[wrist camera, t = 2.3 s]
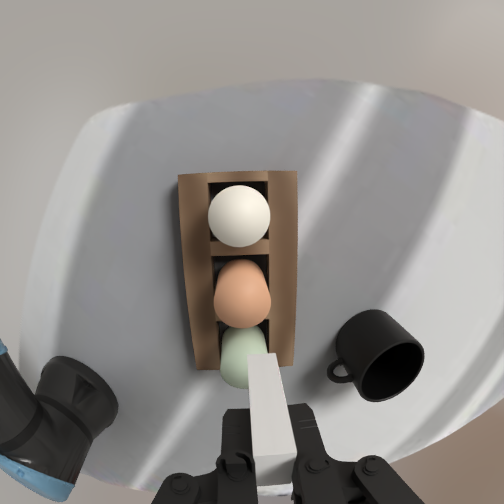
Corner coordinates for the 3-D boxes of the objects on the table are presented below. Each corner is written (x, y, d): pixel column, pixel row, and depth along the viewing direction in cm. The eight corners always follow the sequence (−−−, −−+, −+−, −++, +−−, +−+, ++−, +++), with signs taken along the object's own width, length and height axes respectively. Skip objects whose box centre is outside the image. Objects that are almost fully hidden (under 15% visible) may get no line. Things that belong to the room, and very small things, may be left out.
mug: (311, 329, 34) (332, 369, 25) (390, 298, 34) (426, 327, 25) (323, 378, 36) (341, 420, 27) (393, 349, 36) (422, 382, 27)
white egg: (215, 235, 28) (209, 248, 22) (213, 187, 27) (206, 186, 21) (263, 234, 28) (270, 246, 22) (262, 185, 27) (269, 184, 21)
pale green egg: (224, 357, 31) (222, 389, 26) (220, 322, 30) (218, 351, 24) (264, 356, 32) (270, 387, 26) (264, 321, 30) (270, 349, 25)
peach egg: (219, 303, 30) (215, 329, 24) (216, 259, 29) (211, 277, 23) (264, 301, 30) (270, 326, 24) (263, 257, 29) (270, 275, 23)
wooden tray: (199, 356, 34) (196, 369, 31) (183, 176, 29) (177, 174, 26) (288, 352, 35) (293, 365, 32) (291, 172, 29) (297, 170, 26)
